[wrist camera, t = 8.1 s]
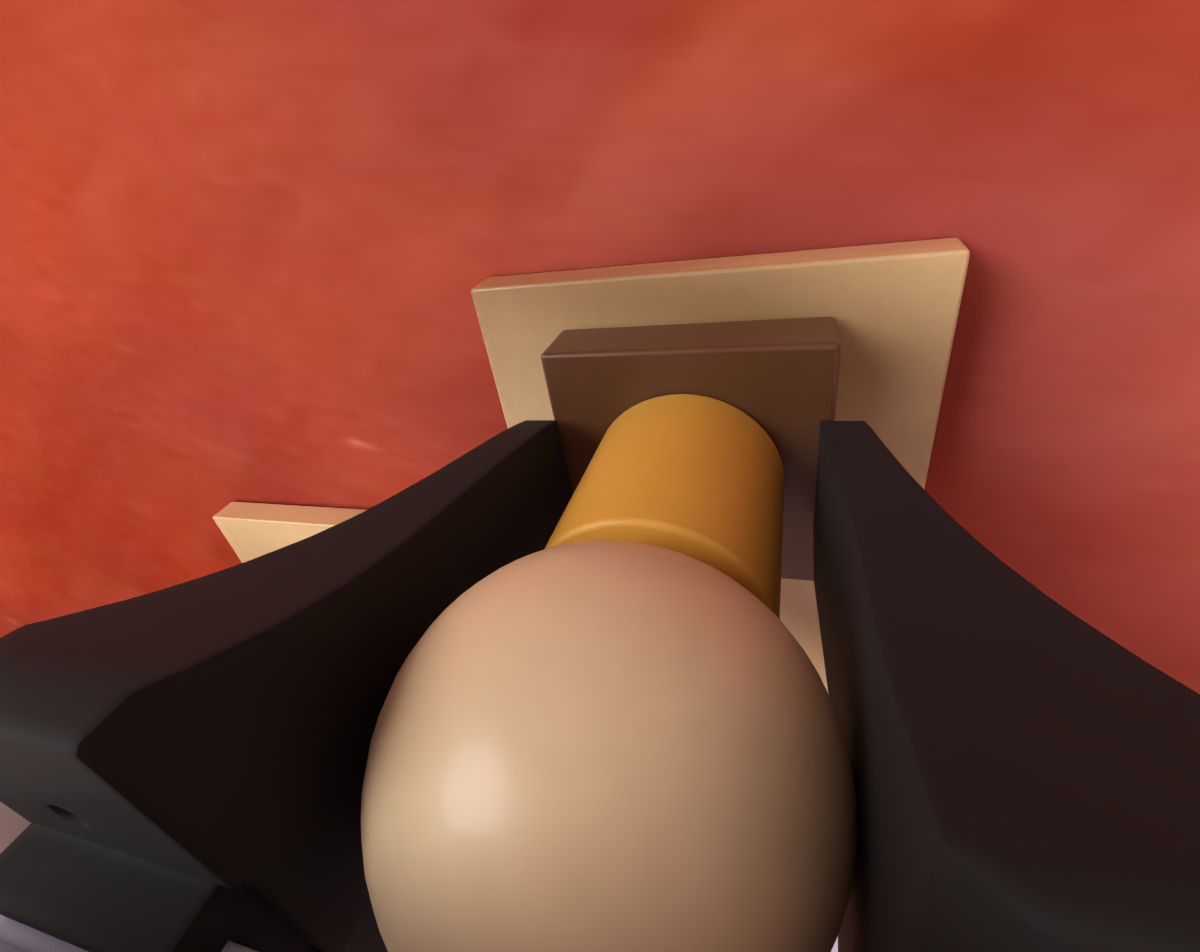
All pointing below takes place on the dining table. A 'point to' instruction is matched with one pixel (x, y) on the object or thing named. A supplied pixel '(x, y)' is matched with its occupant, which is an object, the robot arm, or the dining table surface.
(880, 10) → the dining table surface
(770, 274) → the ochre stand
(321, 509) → the thin cream rectangular board
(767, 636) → the ochre toy
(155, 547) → the dining table surface
